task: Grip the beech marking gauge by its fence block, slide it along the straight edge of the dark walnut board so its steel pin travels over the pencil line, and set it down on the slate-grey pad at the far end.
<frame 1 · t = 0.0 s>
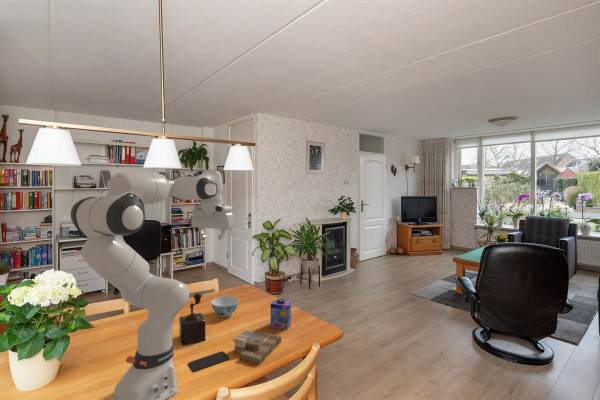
hand: (212, 238, 132), 48 cm above the table, tool pointing down, fingers open, 8 cm apart
ink cartridge box: (280, 326, 154), on the table
slate pad: (249, 337, 141), on the table
walnut board: (261, 350, 131), on the table
phone: (208, 362, 122), on the table
chinaware: (225, 315, 167), on the table
marking gauge: (242, 351, 130), on the table
coffee grinder: (192, 336, 142), on the table
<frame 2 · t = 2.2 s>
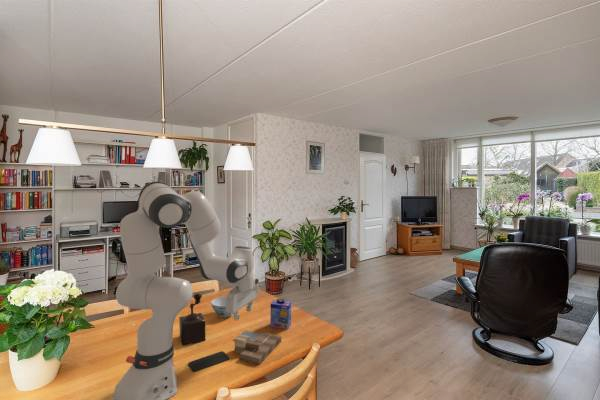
hand: (243, 315, 129), 16 cm above the table, tool pointing down, fingers open, 8 cm apart
nothing on the table moved.
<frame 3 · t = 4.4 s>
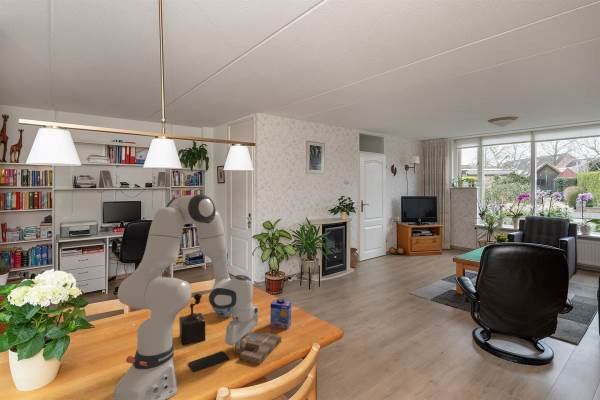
hand: (242, 345, 130), 3 cm above the table, tool pointing down, fingers closed on marking gauge, 4 cm apart
marking gauge: (242, 351, 130), on the table, touching gripper
everything else where it was.
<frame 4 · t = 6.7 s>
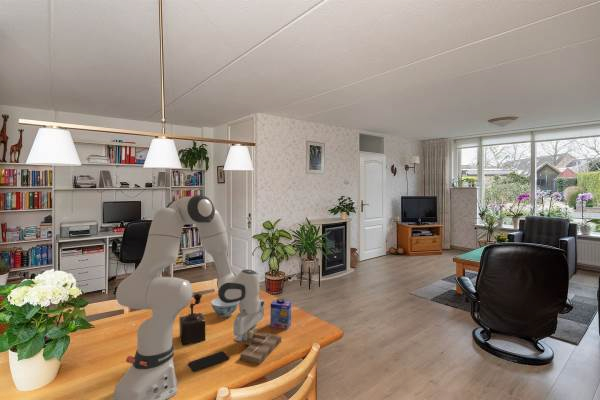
hand: (249, 336, 135), 4 cm above the table, tool pointing down, fingers closed on marking gauge, 4 cm apart
marking gauge: (249, 342, 135), point 1 cm above the table, touching gripper
everything else where it was.
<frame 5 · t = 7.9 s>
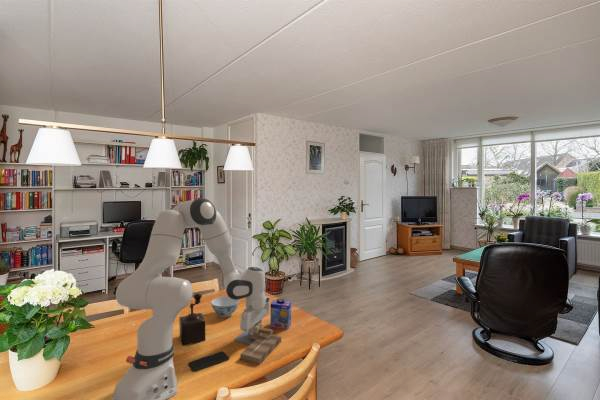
hand: (255, 331, 140), 4 cm above the table, tool pointing down, fingers closed on marking gauge, 4 cm apart
marking gauge: (255, 337, 140), point 1 cm above the table, touching gripper
everything else where it was.
when the fingers open (4 cm above the table, at t = 9.0 s): marking gauge stays where it is, resting on slate pad.
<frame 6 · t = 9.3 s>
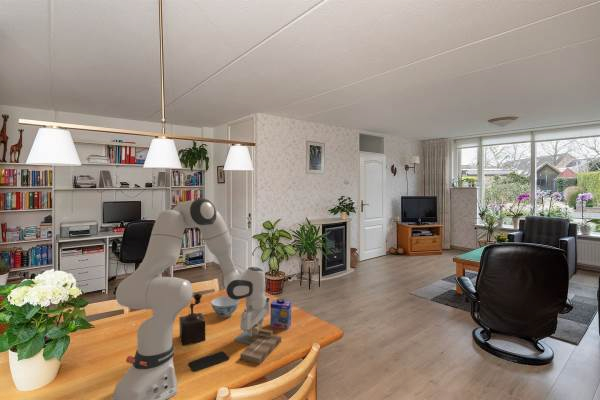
hand: (255, 331, 140), 4 cm above the table, tool pointing down, fingers open, 7 cm apart
marking gauge: (255, 338, 140), resting on slate pad
everything else where it was.
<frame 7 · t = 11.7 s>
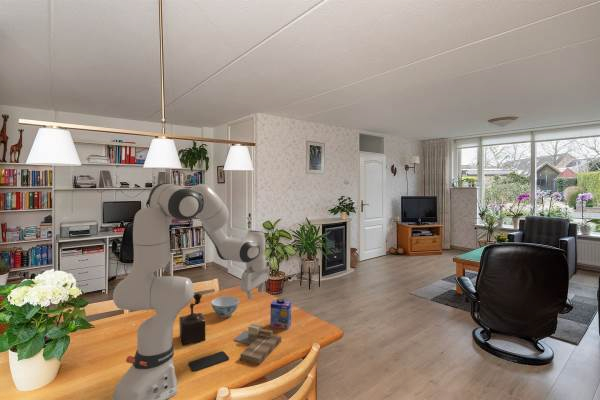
hand: (255, 294, 139), 21 cm above the table, tool pointing down, fingers open, 8 cm apart
nothing on the table moved.
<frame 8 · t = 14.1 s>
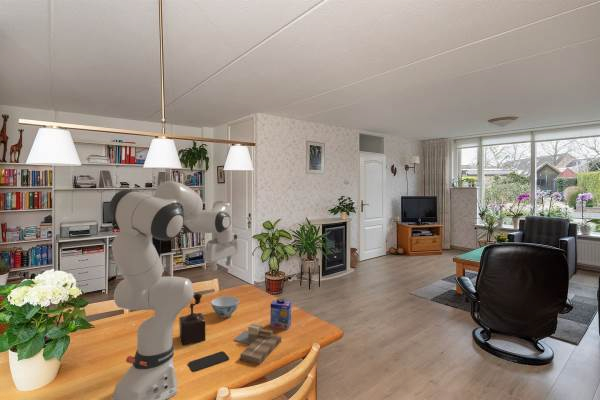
hand: (221, 267, 136), 34 cm above the table, tool pointing down, fingers open, 8 cm apart
nothing on the table moved.
at the end: marking gauge 0.0 cm from the target spot, on the table; marking gauge tilted 0°; the gripper is holding nothing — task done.
